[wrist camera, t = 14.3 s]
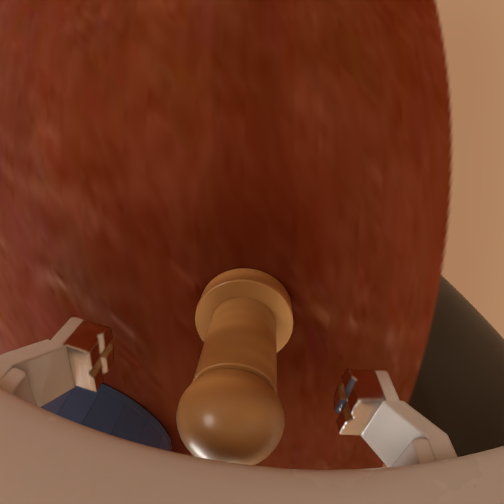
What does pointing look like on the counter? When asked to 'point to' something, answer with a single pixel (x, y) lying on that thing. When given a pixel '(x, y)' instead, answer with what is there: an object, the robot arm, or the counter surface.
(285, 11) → the counter surface
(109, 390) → the cup
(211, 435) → the maple pawn
